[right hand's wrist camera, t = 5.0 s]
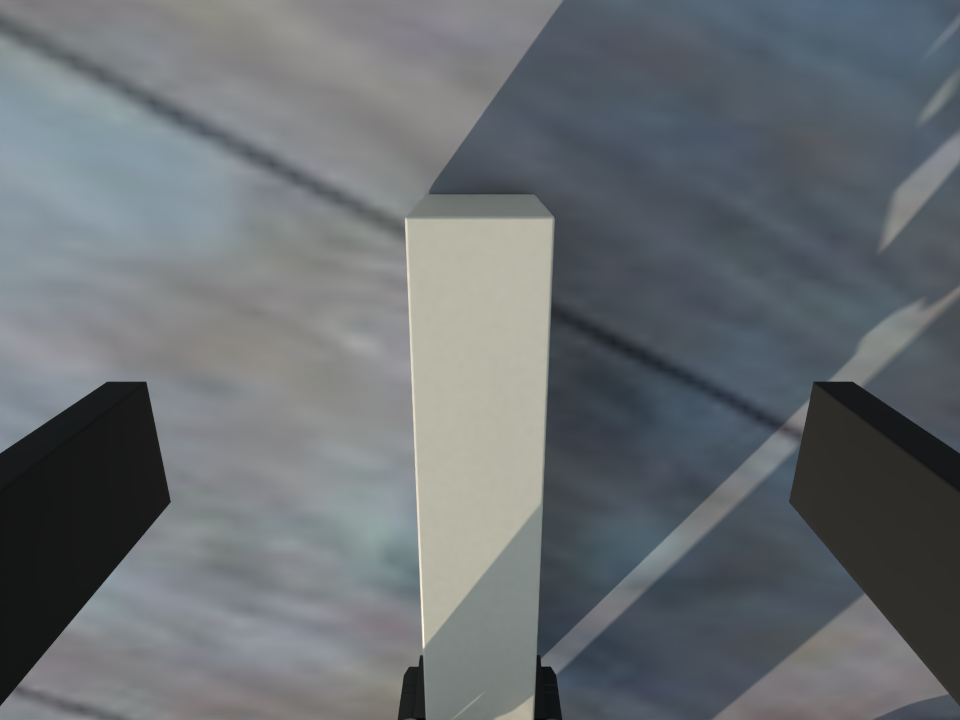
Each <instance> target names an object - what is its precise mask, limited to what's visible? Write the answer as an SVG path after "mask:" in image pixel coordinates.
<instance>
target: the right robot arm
mask: <svg viewBox="0 0 960 720" xmlns="http://www.w3.org/2000/svg"><path fill="white" fill-rule="evenodd" d="M170 502H171V501H170V496H169V491H168V486H167V481H166V476H165V471H164V466H163V462H162V457H161V452H160V447H159V442H158V437H157V432H156V427H155V422H154V417H153V412H152V407H151V402H150V398H149V393H148V388H147V383H146V382H106V383H105V384H103V385H102V386H100V387H99V388H97V389H96V390H94V391H93V392H91V393H90V394H88V395H87V396H85V397H84V398H82V399H81V400H79V401H78V402H76V403H75V404H73V405H72V406H70V407H69V408H67V409H66V410H64V411H63V412H61V413H60V414H58V415H57V416H55V417H54V418H53V419H51V420H50V421H48V422H47V423H45V424H44V425H42V426H41V427H39V428H38V429H36V430H35V431H33V432H32V433H30V434H29V435H27V436H26V437H24V438H23V439H21V440H20V441H18V442H17V443H15V444H14V445H12V446H11V447H9V448H8V449H6V450H5V451H3V452H2V453H0V706H1V704H2V703H3V702H4V701H5V700H6V698H7V697H8V696H9V695H10V694H11V692H12V691H13V690H14V689H15V688H16V687H17V685H18V684H19V683H20V682H21V681H22V679H23V678H24V677H25V676H26V675H27V673H28V672H29V671H30V670H31V669H32V667H33V666H34V665H35V664H36V663H37V661H38V660H39V659H40V658H41V657H42V655H43V654H44V653H45V652H46V651H47V649H48V648H49V647H50V646H51V645H52V643H53V642H54V641H55V640H56V639H57V637H58V636H59V635H60V634H61V633H62V631H63V630H64V629H65V628H66V627H67V626H68V624H69V623H70V622H71V621H72V620H73V618H74V617H75V616H76V615H77V614H78V612H79V611H80V610H81V609H82V608H83V606H84V605H85V604H86V603H87V602H88V600H89V599H90V598H91V597H92V596H93V594H94V593H95V592H96V591H97V590H98V588H99V587H100V586H101V585H102V584H103V582H104V581H105V580H106V579H107V578H108V576H109V575H110V574H111V573H112V572H113V570H114V569H115V568H116V567H117V566H118V564H119V563H120V562H121V561H122V560H123V559H124V557H125V556H126V555H127V554H128V553H129V551H130V550H131V549H132V548H133V547H134V545H135V544H136V543H137V542H138V541H139V539H140V538H141V537H142V536H143V535H144V533H145V532H146V531H147V530H148V529H149V527H150V526H151V525H152V524H153V523H154V521H155V520H156V519H157V518H158V517H159V515H160V514H161V513H162V512H163V511H164V509H165V508H166V507H167V506H168V505H169V503H170ZM789 502H790V503H791V505H792V506H793V507H794V508H795V509H796V511H797V512H798V513H799V514H800V515H801V517H802V518H803V519H804V520H805V521H806V523H807V524H808V525H809V526H810V527H811V529H812V530H813V531H814V532H815V533H816V535H817V536H818V537H819V538H820V539H821V541H822V542H823V543H824V544H825V545H826V547H827V548H828V549H829V550H830V551H831V553H832V554H833V555H834V556H835V557H836V559H837V560H838V561H839V562H840V563H841V564H842V566H843V567H844V568H845V569H846V570H847V572H848V573H849V574H850V575H851V576H852V578H853V579H854V580H855V581H856V582H857V584H858V585H859V586H860V587H861V588H862V590H863V591H864V592H865V593H866V594H867V596H868V597H869V598H870V599H871V600H872V602H873V603H874V604H875V605H876V606H877V608H878V609H879V610H880V611H881V612H882V614H883V615H884V616H885V617H886V618H887V620H888V621H889V622H890V623H891V624H892V626H893V627H894V628H895V629H896V630H897V631H898V633H899V634H900V635H901V636H902V637H903V639H904V640H905V641H906V642H907V643H908V645H909V646H910V647H911V648H912V649H913V651H914V652H915V653H916V654H917V655H918V657H919V658H920V659H921V660H922V661H923V663H924V664H925V665H926V666H927V667H928V669H929V670H930V671H931V672H932V673H933V675H934V676H935V677H936V678H937V679H938V681H939V682H940V683H941V684H942V685H943V687H944V688H945V689H946V690H947V691H948V692H949V694H950V695H951V696H952V697H953V698H954V700H955V701H956V702H957V703H958V704H959V706H960V453H958V452H957V451H955V450H954V449H952V448H951V447H949V446H948V445H946V444H945V443H943V442H942V441H940V440H939V439H937V438H936V437H934V436H933V435H931V434H930V433H928V432H927V431H925V430H924V429H922V428H921V427H919V426H918V425H916V424H915V423H913V422H912V421H910V420H909V419H907V418H906V417H905V416H903V415H902V414H900V413H899V412H897V411H896V410H894V409H893V408H891V407H890V406H888V405H887V404H885V403H884V402H882V401H881V400H879V399H878V398H876V397H875V396H873V395H872V394H870V393H869V392H867V391H866V390H864V389H863V388H861V387H860V386H858V385H857V384H855V383H854V382H814V383H813V388H812V393H811V398H810V402H809V407H808V412H807V417H806V422H805V427H804V432H803V437H802V442H801V447H800V452H799V457H798V462H797V466H796V471H795V476H794V481H793V486H792V491H791V496H790V501H789Z"/></svg>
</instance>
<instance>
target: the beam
mask: <svg viewBox="0 0 960 720" xmlns="http://www.w3.org/2000/svg"><path fill="white" fill-rule="evenodd" d="M554 226H555V218H554V216H553V215H552V214H551V213H550V212H549V211H548V209H547V208H546V207H545V206H544V205H543V204H542V203H541V201H540V200H539V199H538V198H537V197H536V196H535V195H534V194H426V195H425V196H424V197H423V198H422V199H421V200H420V201H419V203H418V204H417V205H416V206H415V207H414V208H413V209H412V211H411V212H410V213H409V214H408V215H407V216H406V218H405V229H406V253H407V277H408V301H409V325H410V350H411V374H412V398H413V422H414V446H415V470H416V494H417V519H418V543H419V567H420V591H421V615H422V639H423V664H424V688H425V712H426V720H534V708H535V684H536V660H537V636H538V612H539V587H540V563H541V539H542V515H543V491H544V467H545V443H546V419H547V395H548V371H549V347H550V323H551V299H552V275H553V251H554Z"/></svg>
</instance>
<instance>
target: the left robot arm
mask: <svg viewBox="0 0 960 720" xmlns="http://www.w3.org/2000/svg"><path fill="white" fill-rule="evenodd" d="M398 720H426V712H425V688H424V664H423V655H420V660H419V667H409V668H408V670H407V671H406V673H405V675H404V679H403V687H402V694H401V700H400V707H399V715H398ZM534 720H562V715H561V708H560V701H559V694H558V687H557V679H556V674H555V673H554V671H553V670H552V668H551V667H541V660H540V655H537V660H536V684H535V708H534Z"/></svg>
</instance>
